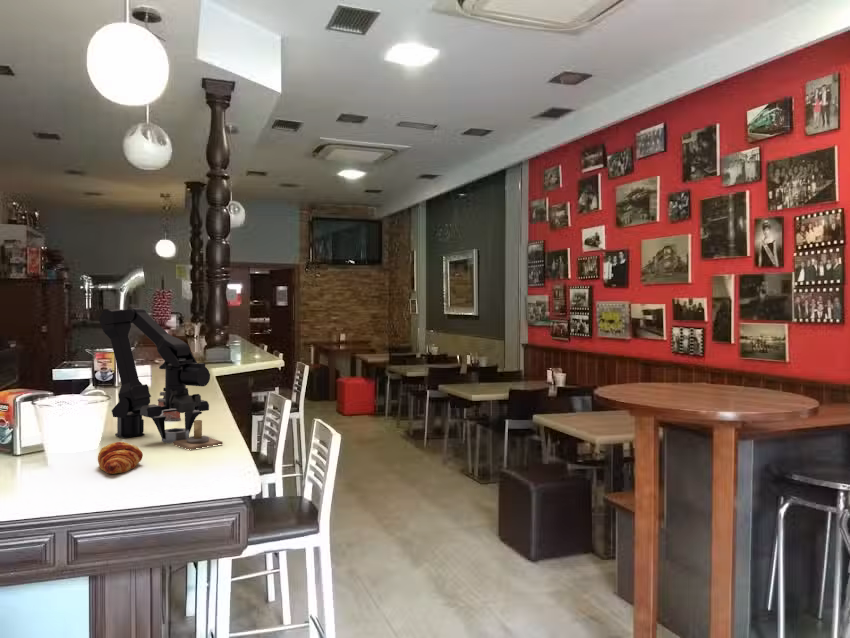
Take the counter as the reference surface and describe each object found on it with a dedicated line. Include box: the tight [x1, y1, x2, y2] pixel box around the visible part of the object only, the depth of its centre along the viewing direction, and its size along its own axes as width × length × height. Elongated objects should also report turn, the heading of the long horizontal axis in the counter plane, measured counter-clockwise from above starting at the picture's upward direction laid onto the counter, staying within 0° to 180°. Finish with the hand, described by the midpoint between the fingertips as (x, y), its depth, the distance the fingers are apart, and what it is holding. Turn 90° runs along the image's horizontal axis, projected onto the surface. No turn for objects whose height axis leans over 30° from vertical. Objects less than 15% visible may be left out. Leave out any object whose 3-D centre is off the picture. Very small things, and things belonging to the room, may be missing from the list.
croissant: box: [97, 441, 144, 475], centre depth 160 cm, size 21×10×8 cm, turn 19°
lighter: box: [157, 391, 182, 422], centre depth 223 cm, size 8×3×10 cm, turn 84°
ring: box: [161, 427, 190, 444], centre depth 190 cm, size 7×7×3 cm
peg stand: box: [172, 419, 224, 451], centre depth 185 cm, size 10×10×7 cm
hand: (175, 437), depth 190 cm, fingers closed on ring, 7 cm apart
